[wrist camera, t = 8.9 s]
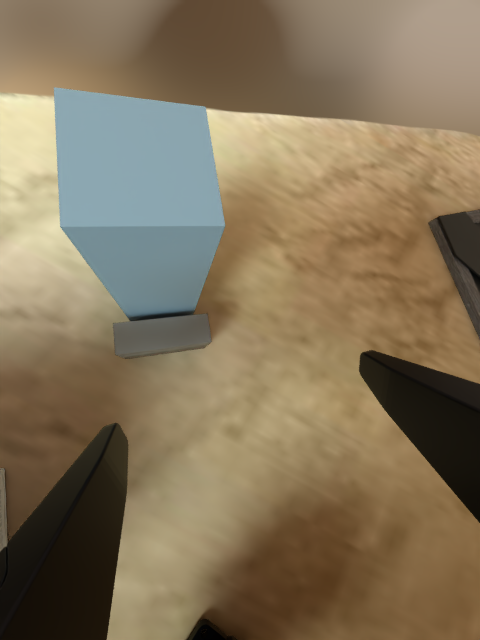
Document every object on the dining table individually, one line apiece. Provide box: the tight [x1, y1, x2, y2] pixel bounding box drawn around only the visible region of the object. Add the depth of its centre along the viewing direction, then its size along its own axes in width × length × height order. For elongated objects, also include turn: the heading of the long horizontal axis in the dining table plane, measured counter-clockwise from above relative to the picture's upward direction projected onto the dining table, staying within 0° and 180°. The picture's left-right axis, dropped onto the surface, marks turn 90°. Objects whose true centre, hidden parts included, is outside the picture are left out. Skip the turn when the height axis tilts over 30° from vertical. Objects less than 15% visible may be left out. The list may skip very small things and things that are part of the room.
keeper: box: [54, 88, 225, 321], centre depth 14 cm, size 4×4×13 cm
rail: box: [113, 314, 212, 359], centre depth 20 cm, size 18×6×4 cm, turn 10°
